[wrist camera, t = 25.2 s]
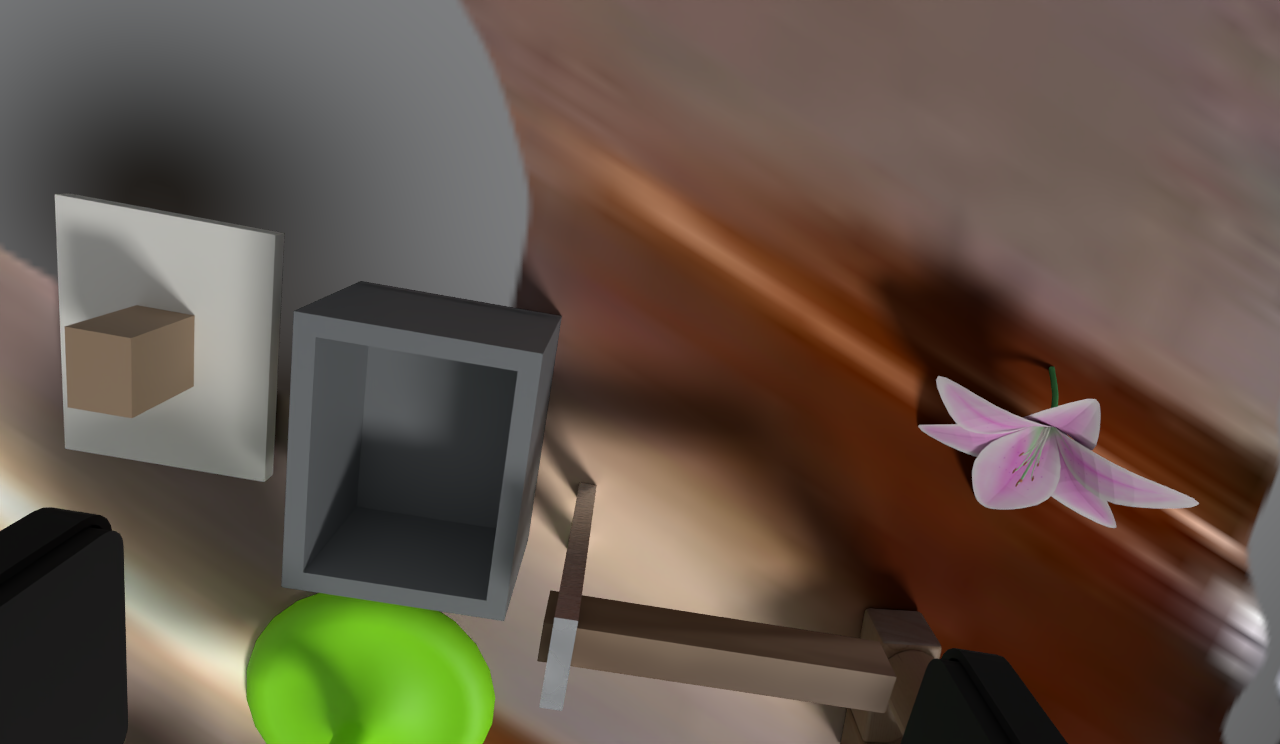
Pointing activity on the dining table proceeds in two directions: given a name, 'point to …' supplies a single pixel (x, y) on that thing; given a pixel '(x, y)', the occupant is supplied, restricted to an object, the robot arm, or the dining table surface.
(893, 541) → the dining table surface
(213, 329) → the lid
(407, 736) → the wineglass
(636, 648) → the tan bar
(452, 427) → the toolbox
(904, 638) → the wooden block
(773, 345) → the dining table surface
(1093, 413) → the lily
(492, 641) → the dining table surface
